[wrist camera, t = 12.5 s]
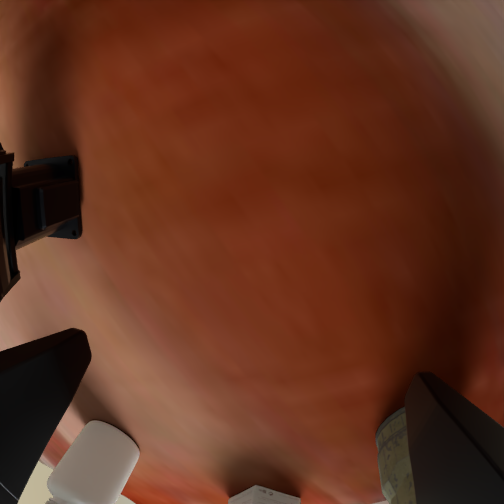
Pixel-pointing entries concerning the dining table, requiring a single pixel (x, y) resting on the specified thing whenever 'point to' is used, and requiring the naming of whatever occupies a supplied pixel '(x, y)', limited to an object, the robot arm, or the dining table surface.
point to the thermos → (395, 460)
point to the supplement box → (263, 497)
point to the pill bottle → (94, 466)
